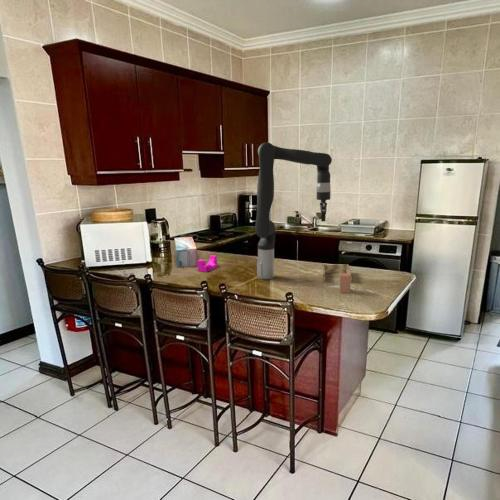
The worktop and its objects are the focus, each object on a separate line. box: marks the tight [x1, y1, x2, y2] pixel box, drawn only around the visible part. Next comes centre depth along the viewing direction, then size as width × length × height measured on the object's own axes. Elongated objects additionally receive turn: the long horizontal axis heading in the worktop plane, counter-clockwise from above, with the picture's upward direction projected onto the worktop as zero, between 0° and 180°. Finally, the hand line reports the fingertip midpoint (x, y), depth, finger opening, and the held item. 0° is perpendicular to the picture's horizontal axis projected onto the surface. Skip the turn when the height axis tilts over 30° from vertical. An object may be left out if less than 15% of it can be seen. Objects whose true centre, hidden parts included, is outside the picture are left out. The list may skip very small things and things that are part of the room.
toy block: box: [197, 254, 218, 273], centre depth 242 cm, size 15×6×8 cm, turn 149°
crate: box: [321, 263, 353, 283], centre depth 218 cm, size 15×20×5 cm
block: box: [338, 273, 352, 294], centre depth 192 cm, size 5×5×9 cm
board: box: [328, 284, 355, 290], centre depth 194 cm, size 14×20×1 cm
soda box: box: [174, 236, 198, 268], centre depth 267 cm, size 41×14×13 cm, turn 13°
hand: (323, 220), depth 213 cm, fingers open, 8 cm apart
